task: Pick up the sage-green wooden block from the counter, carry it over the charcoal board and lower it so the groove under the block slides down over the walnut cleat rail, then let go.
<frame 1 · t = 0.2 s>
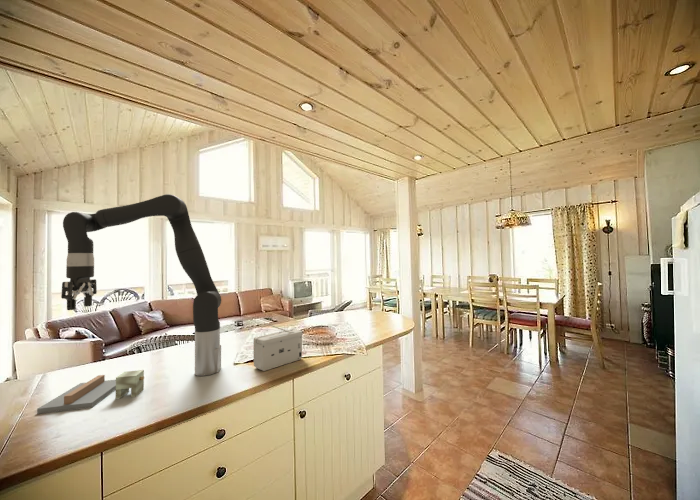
hand: (80, 308, 103), 29 cm above the kitchen island, tool pointing down, fingers open, 8 cm apart
sage block: (130, 394, 94), on the kitchen island
cleat board: (85, 396, 93), on the kitchen island
stereo radio cassette player: (279, 364, 120), on the kitchen island
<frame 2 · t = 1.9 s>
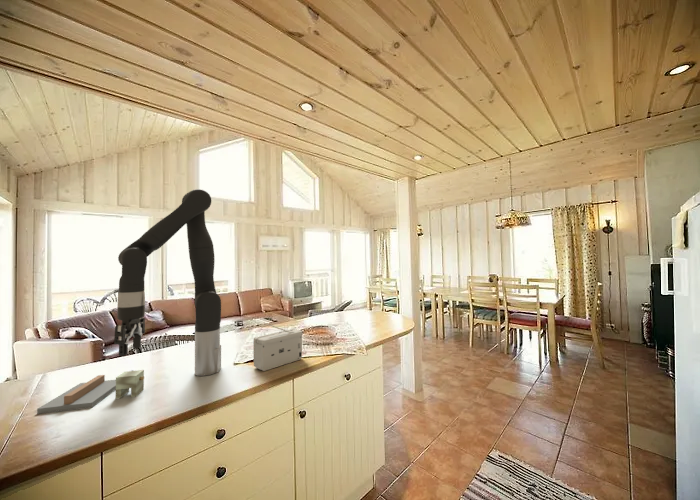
hand: (130, 351, 95), 15 cm above the kitchen island, tool pointing down, fingers open, 8 cm apart
nothing on the kitchen island moved.
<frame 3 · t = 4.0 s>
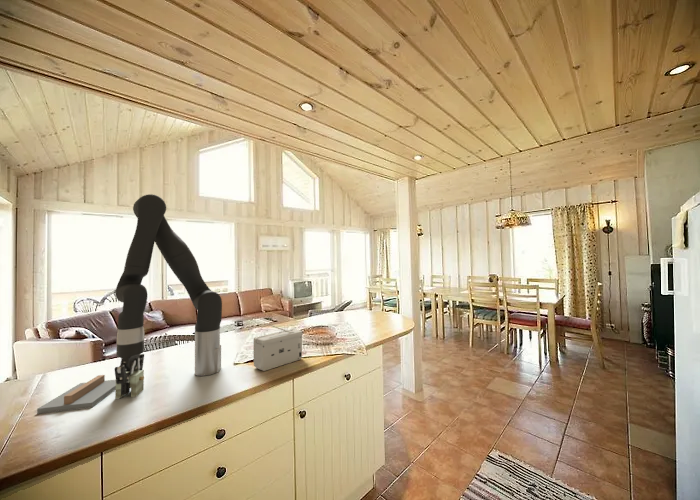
hand: (130, 389, 94), 1 cm above the kitchen island, tool pointing down, fingers closed on sage block, 5 cm apart
sage block: (129, 394, 94), on the kitchen island, touching gripper
everything else where it was.
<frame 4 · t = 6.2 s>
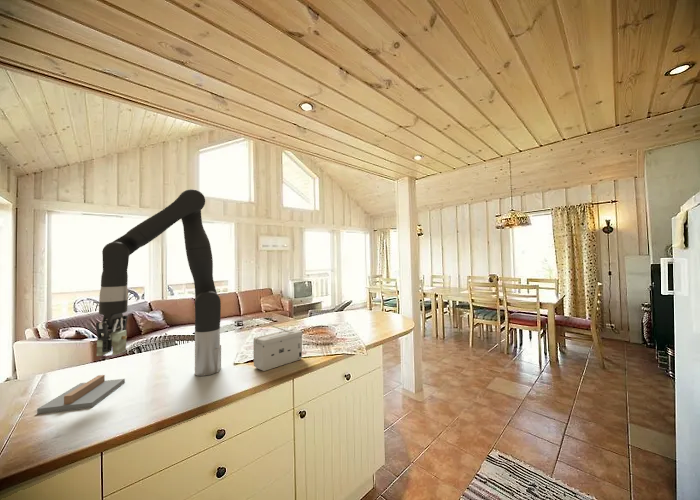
hand: (111, 348, 94), 16 cm above the kitchen island, tool pointing down, fingers closed on sage block, 5 cm apart
sage block: (111, 352, 94), point 14 cm above the kitchen island, touching gripper
everything else where it was.
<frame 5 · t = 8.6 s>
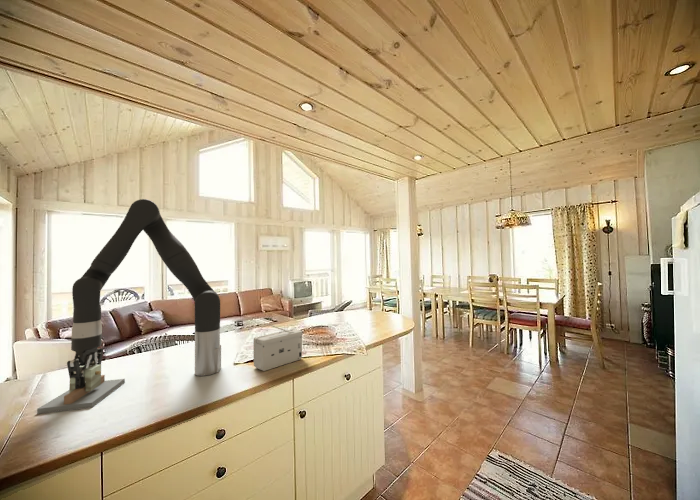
hand: (85, 384, 93), 4 cm above the kitchen island, tool pointing down, fingers closed on sage block, 5 cm apart
sage block: (85, 388, 93), point 3 cm above the kitchen island, touching gripper
everything else where it was.
when the fingers open (4 cm above the kitchen island, at t = 8.8 s): sage block drops 1 cm, resting on cleat board.
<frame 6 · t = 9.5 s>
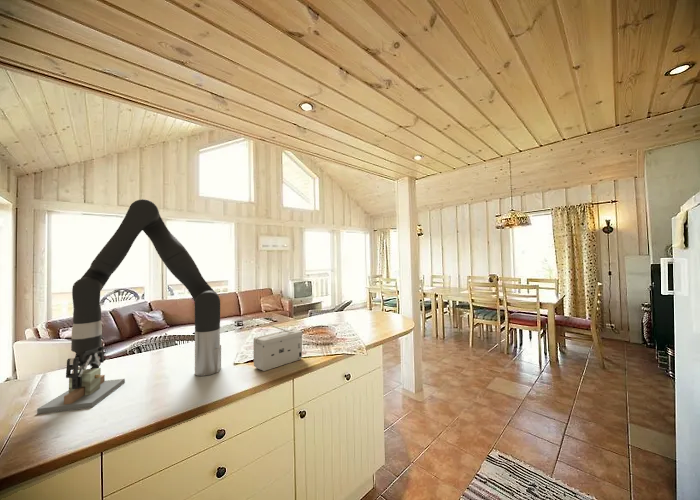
hand: (86, 382, 93), 5 cm above the kitchen island, tool pointing down, fingers open, 8 cm apart
sage block: (84, 392, 93), point 1 cm above the kitchen island, touching cleat board
everything else where it was.
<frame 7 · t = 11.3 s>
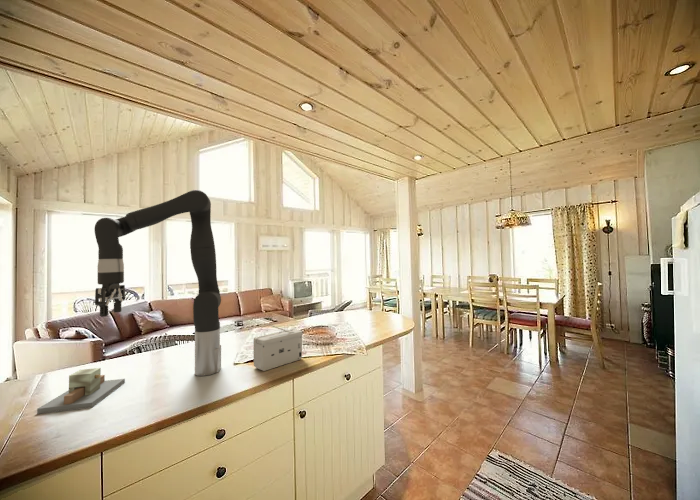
hand: (111, 314, 103), 26 cm above the kitchen island, tool pointing down, fingers open, 8 cm apart
nothing on the kitchen island moved.
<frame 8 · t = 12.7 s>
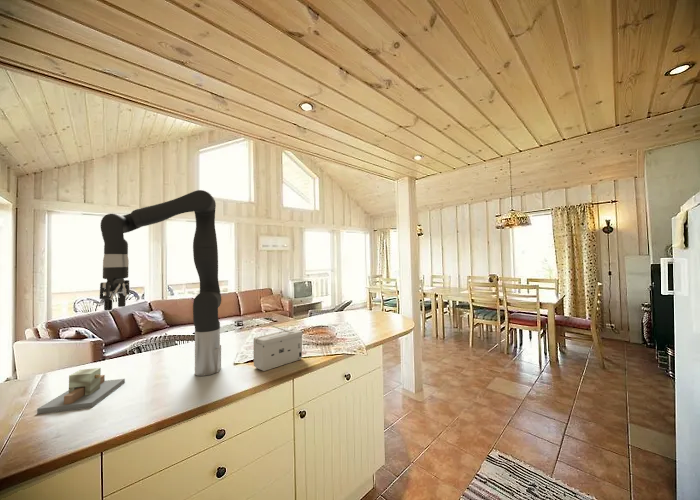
hand: (115, 308, 105), 28 cm above the kitchen island, tool pointing down, fingers open, 8 cm apart
nothing on the kitchen island moved.
at the end: sage block inside the target area on the cleat board (0.2 cm from its centre), point 1.5 cm above the cleat board's base; sage block tilted 0°; the gripper is holding nothing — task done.
